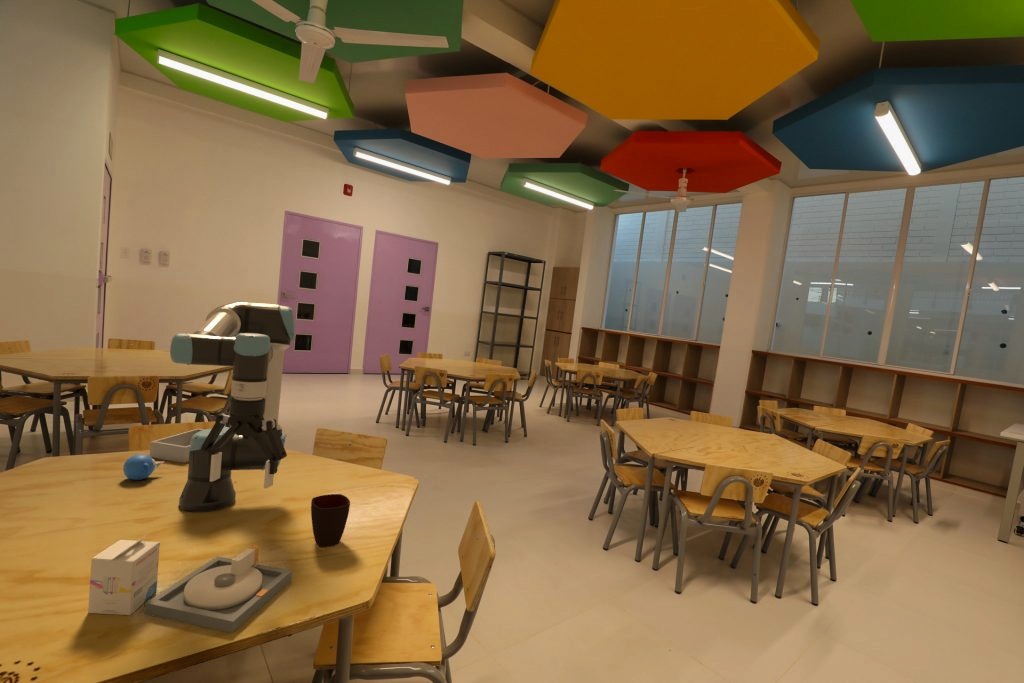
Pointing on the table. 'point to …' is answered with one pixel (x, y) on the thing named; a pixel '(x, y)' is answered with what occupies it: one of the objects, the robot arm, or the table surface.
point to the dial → (225, 583)
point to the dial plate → (226, 619)
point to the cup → (329, 518)
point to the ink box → (123, 577)
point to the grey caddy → (173, 447)
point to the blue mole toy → (140, 466)
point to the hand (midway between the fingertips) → (241, 483)
